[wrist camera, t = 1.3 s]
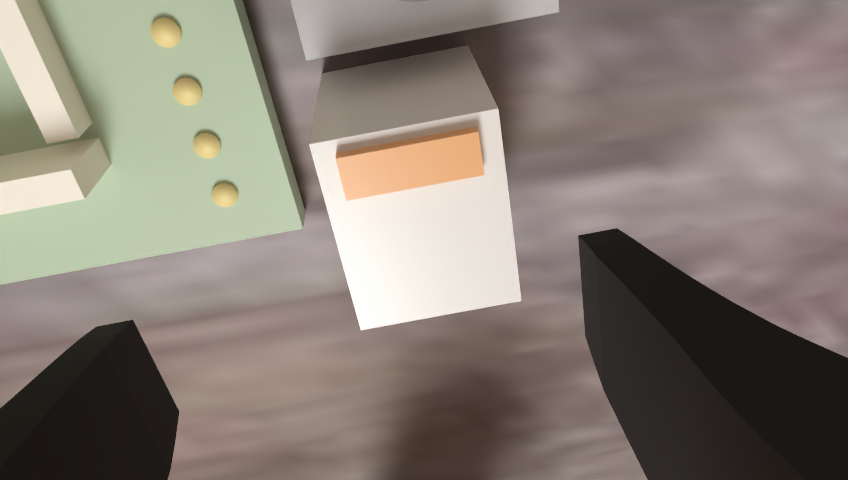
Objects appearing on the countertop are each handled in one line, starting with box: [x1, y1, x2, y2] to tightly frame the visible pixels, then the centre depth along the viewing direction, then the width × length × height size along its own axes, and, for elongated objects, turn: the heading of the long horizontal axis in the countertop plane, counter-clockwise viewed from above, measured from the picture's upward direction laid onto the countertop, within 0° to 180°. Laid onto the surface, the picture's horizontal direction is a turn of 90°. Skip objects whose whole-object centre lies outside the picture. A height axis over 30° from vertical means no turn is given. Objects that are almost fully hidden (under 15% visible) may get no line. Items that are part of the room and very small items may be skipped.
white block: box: [309, 45, 521, 330], centre depth 18 cm, size 5×4×5 cm
